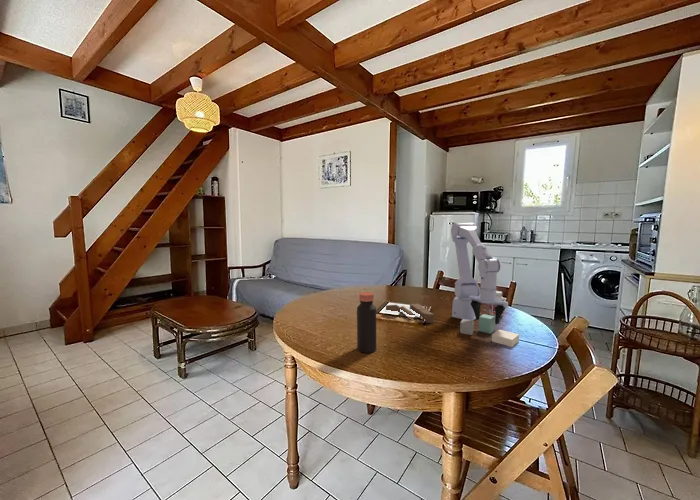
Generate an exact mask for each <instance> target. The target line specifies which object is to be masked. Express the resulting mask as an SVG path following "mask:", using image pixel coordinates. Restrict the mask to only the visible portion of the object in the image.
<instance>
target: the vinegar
mask: <svg viewBox="0 0 700 500" xmlns="http://www.w3.org/2000/svg"><path fill="white" fill-rule="evenodd" d="M374 296H375V295H374V293H373V292H367V291H364V292H363V291H362V292H360V293H359V302H360V304H358V305H357V307H356V337H357V338H356V342H357V343H356V348H357V351H358V352H360V351H361V352H360V353H362V352H365V353H364V354H372V353H374V352H376V351H377V307H376V306H375V305H374V298H375V297H374ZM371 352H372V353H371Z"/></svg>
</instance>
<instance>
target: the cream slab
mask: <svg viewBox="0 0 700 500" xmlns="http://www.w3.org/2000/svg"><path fill="white" fill-rule="evenodd" d="M491 342H493V343H496V344H499V345H500V344H501V345H504V346H506V347H507V346H508V347H511V348H513V347H514V346H515V345H516V344H518V343H519V342H520V334H519V333H515V332H512V331H511V332H510V331H507V330H502V329H498V330H495V331H494V332H492V333H491Z"/></svg>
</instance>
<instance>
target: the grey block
mask: <svg viewBox="0 0 700 500" xmlns="http://www.w3.org/2000/svg"><path fill="white" fill-rule="evenodd" d="M459 327H460V328H459V331H460V334H463V335H471V336H472V335H474V332H475V320H466V319H461V321H460V323H459Z"/></svg>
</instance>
